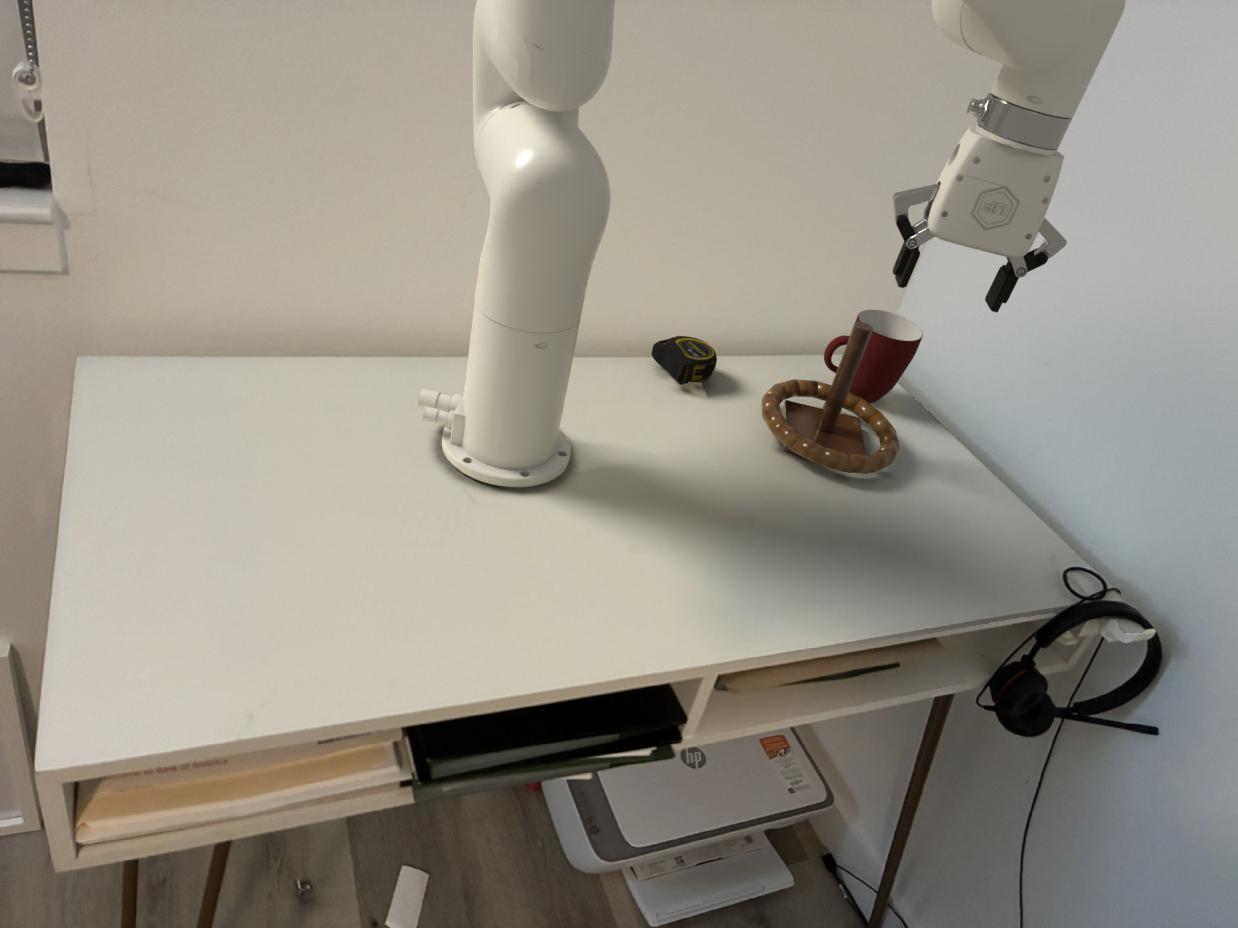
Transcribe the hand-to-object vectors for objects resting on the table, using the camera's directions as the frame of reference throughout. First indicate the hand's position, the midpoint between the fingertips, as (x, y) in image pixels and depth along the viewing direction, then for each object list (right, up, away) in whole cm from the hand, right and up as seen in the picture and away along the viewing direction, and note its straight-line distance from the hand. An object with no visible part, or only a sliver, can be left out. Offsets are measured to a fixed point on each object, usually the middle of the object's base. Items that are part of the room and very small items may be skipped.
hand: (945, 294), depth 94 cm
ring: (-10, -13, +10) cm, 19 cm away
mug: (-4, -9, +22) cm, 24 cm away
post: (-10, -14, +11) cm, 21 cm away
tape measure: (-26, -7, +17) cm, 32 cm away
